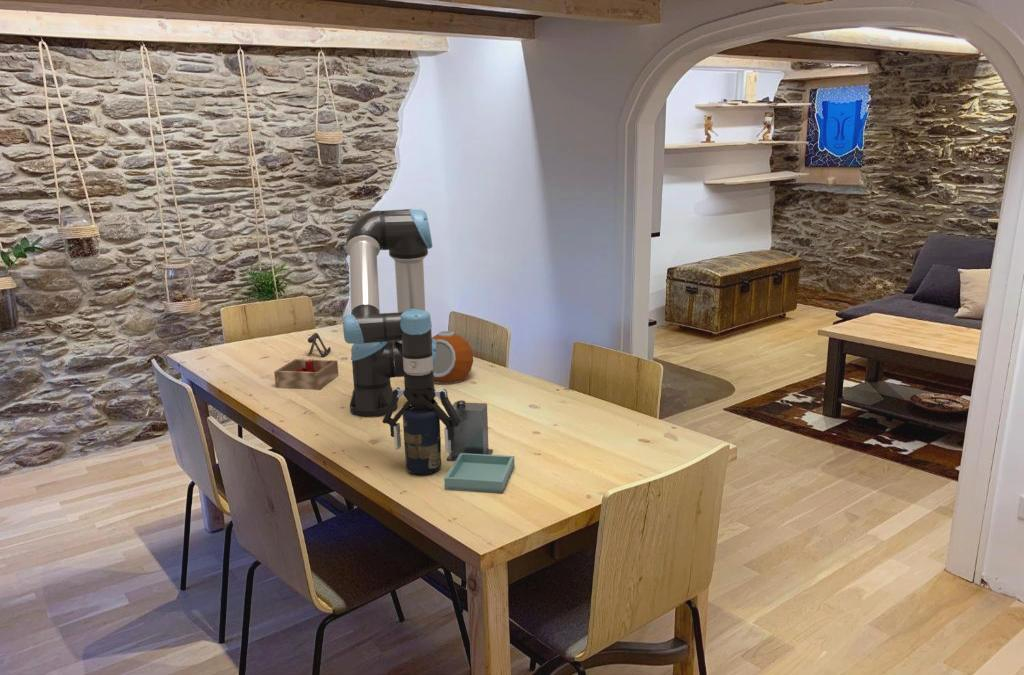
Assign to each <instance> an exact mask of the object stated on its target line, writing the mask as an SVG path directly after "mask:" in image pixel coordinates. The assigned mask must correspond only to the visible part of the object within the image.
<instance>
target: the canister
mask: <svg viewBox="0 0 1024 675" xmlns="http://www.w3.org/2000/svg"><path fill="white" fill-rule="evenodd" d="M402 427H403V429H402V430H403V444H404V459H405V460H404V462H405V463H404V464H405V468H406V470H407V471H408V472H410V473H412V474H416V475H427V474H431V473H434V472H437V471H438V470H439V469H440V468H441V467H442V456H441V455H442V447H441V446H442V441H441V438H442V437H441V420H440V419H439V418H438V417H437V415H436V413H435V412H434V411H432V410H430V409H429V408H428V407H425V408H422V407H414V406H412V405H410V406H409V407H408V408H407V409H406V410H404V411H403V415H402Z"/></svg>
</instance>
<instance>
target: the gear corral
mask: <svg viewBox="0 0 1024 675" xmlns="http://www.w3.org/2000/svg"><path fill="white" fill-rule="evenodd" d="M306 361H309V359H303V358H302V359H299V358H296V359H293V360H291V361H290V362H287V363H286V364H285V365H283V366H281V367H279V368H278V369H276V370H275V371H274V382H275V388H277V389H296V390H299V389H301V390H322V389H323V388H324V387H326V386H327V385H329V384H330V383H331V382H333V381H334V380H335V379H337V378H338V377H339V376H340V375H339V364H338V360H335V359H334V360H332V359H331V360H328V359H327V360H326V359H325V360H324V359H313V363H314V370H316V371H317V369H318V368H319V369H320V367H321V370H319V371H317V372H299V371H297V368H298V367H304V368H306V366H305V362H306ZM310 361H312V359H310ZM317 366H318V368H317ZM319 366H320V367H319Z"/></svg>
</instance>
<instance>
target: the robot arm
mask: <svg viewBox="0 0 1024 675" xmlns="http://www.w3.org/2000/svg"><path fill="white" fill-rule="evenodd" d="M432 248H433V242H432V234H431V229H430V223H429V218H428V214H427V212H426V211H425V210H423V209H412V208H408V209H407V208H406V209H404V208H403V209H391V210H372V211H370V212H366V213H365V214H363V215H362V216H361V217H359V218H358V219H357V220H356V221H355V222H354V223H353V224H352V226H351V227H350V230H349V232H348V233H347V236H346V241H345V250H346V253H347V255H348V256H349V265H350V266H349V267H350V268H349V271H350V277H349V278H350V280H349V281H350V314H348V315H344V316H343V318H342V328H343V330H342V331H343V339H344V341H345V343H347V344H351V347H350V348H351V350H350V351H351V357H350V360H351V361H352V362H351V364H352V380H353V390H352V395H351V398H350V403H349V412H350V414H352V415H353V416H355V417H361V418H377V417H382V416H384V417H383V419H382V423H383V424H388V426H389V429H390V430H389V431H390V436H391V438H393V440H394V451H399V450H400V449H401V448H402V437H401V423H400V422H398V421H399V420H400V419H401V417H403V411H404V410H406V409H407V408H408V407H409V406H411V405H412V406H414V407H422V408H425V407H428V408H429V409H430V410H432V411H434V412H435V413H436V415H437V417H438V418H439V419H440V422H442V424H443V425H444V426H445V427H444V428H443V430H444V431H443V432H444V449H445V450H444V451H445V452H444V453H445V454H450V452H451V440H452V439H453V438H454V427H457V426H458V425H459V424H460V422H461V421H460V419H459V417H458V415H457V413H456V412H455V410H454V408H453V406H452V405H453V404H452V403H451V401H450V399H449V397H448V396H449V395H448V391H447V389H446V388H443V389H442V390H436V389H435V382H434V373H433V371H434V368H435V362H436V340H435V339H433V338H432V337H433V336H432V327H433V326H432V325H433V324H432V321H431V314H430V312H429V311H427V310H426V297H425V296H426V295H425V276H424V275H425V272H424V259H425V258H426V257H427V256H428V254H429V252H428V250H430V249H432ZM380 251H388V255H389V257H390V258H391V259H393V261H394V270H395V272H394V273H395V286H396V288H395V289H396V302H397V303H396V304H397V312H384V313H383V312H382V313H381V311H380V293H379V275H378V274H379V272H378V255H379V254H380ZM391 378H392V379H393V378H403V382H404V383H403V384H404V389H401V388H400V387H395V389H393V388H392V386H391ZM402 396H403V397H404V398H405V399H406V400H407V401H406V402H405V403H404V404H403V406H402V407H401V408H400V409H399V410H398V402H399V401H400V398H402ZM435 397H437V398H438V400H440V402H441V405H442V406H443V408H444V410H443V408H442V407H441V406H440V405H439V404H438V402H437V400H436V399H435ZM397 410H398V412H397V413H396V414H395V415H394V416H393V418H392V415H393V414H394V413H395V412H396V411H397ZM449 417H450V418H449Z"/></svg>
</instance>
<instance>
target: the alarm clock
mask: <svg viewBox="0 0 1024 675" xmlns="http://www.w3.org/2000/svg"><path fill="white" fill-rule="evenodd" d="M432 338H433V339H435V340H436V362H435V368H434V371H433V373H434V383H436V384H443V385H444V384H447V385H448V384H451V385H452V384H456V383H460V382H462V381H464V380H465V379H466V377H467V376H468V375H469V373H470V372H472V367H473V363H474V355H473V354H474V353H473V351H472V348H471V346H470V344H469V342H468V341H466V340H465V339H464V338H463V336H461V335H458V334H456V333H455V332H454V331H451V330H442V331H439V332H438V333H437V334H436V335H434V336H432Z"/></svg>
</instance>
